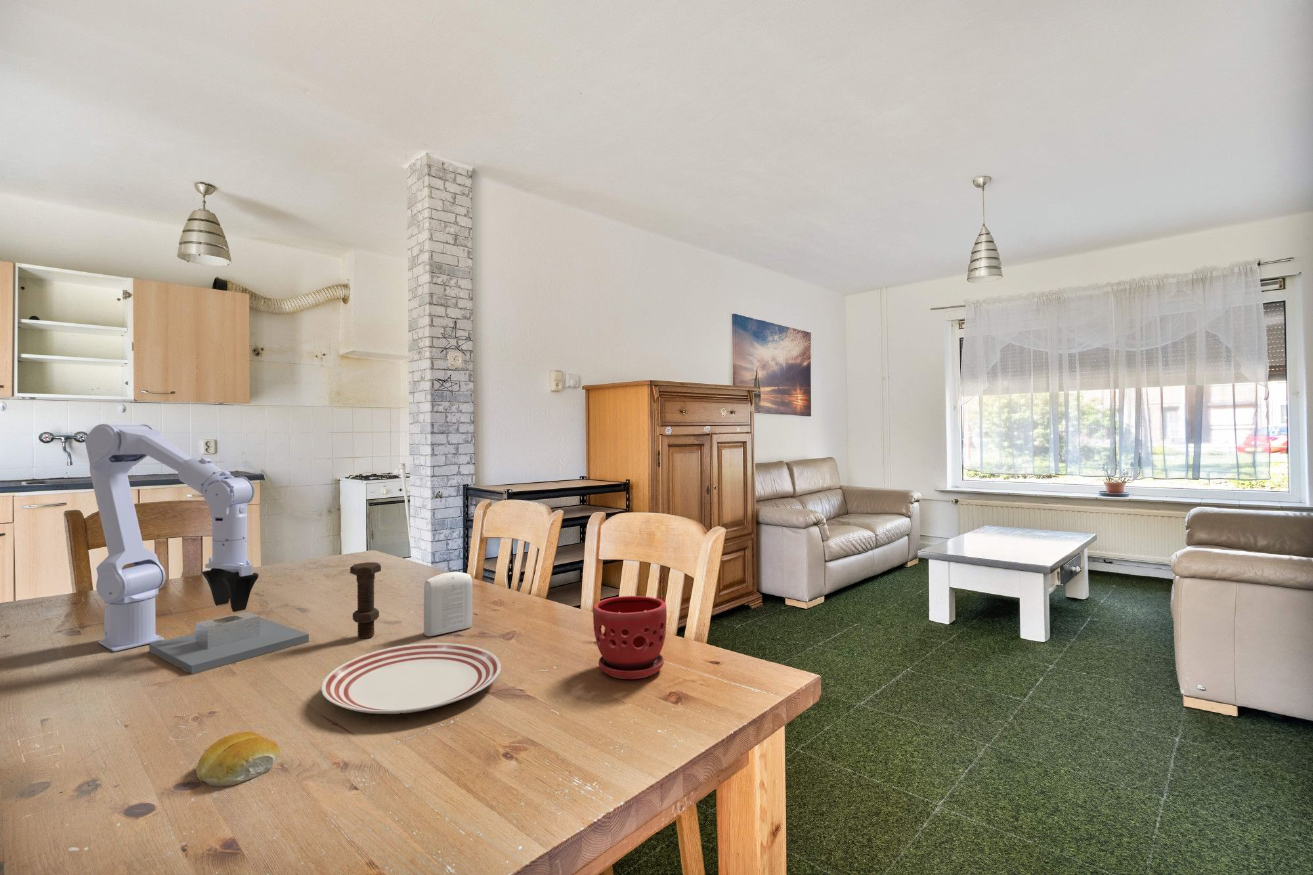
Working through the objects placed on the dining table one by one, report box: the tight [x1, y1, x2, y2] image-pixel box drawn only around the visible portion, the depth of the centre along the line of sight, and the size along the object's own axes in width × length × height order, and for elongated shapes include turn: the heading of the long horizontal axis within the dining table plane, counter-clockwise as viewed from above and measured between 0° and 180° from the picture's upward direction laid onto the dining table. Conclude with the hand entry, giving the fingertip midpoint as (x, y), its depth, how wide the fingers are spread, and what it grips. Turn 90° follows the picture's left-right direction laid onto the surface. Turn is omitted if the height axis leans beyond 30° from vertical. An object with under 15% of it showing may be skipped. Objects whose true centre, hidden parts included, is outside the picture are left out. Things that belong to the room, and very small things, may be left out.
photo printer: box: [423, 571, 473, 637], centre depth 130 cm, size 10×4×12 cm, turn 134°
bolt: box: [349, 561, 382, 639], centre depth 126 cm, size 6×5×15 cm
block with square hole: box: [194, 611, 261, 649], centre depth 121 cm, size 6×9×4 cm, turn 147°
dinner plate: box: [320, 642, 502, 715], centre depth 101 cm, size 28×27×3 cm
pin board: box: [148, 617, 310, 675], centre depth 121 cm, size 20×20×4 cm
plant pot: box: [592, 595, 668, 680], centre depth 109 cm, size 13×13×12 cm
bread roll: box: [195, 731, 281, 787], centre depth 77 cm, size 8×9×4 cm
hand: (230, 607), depth 121 cm, fingers open, 7 cm apart
